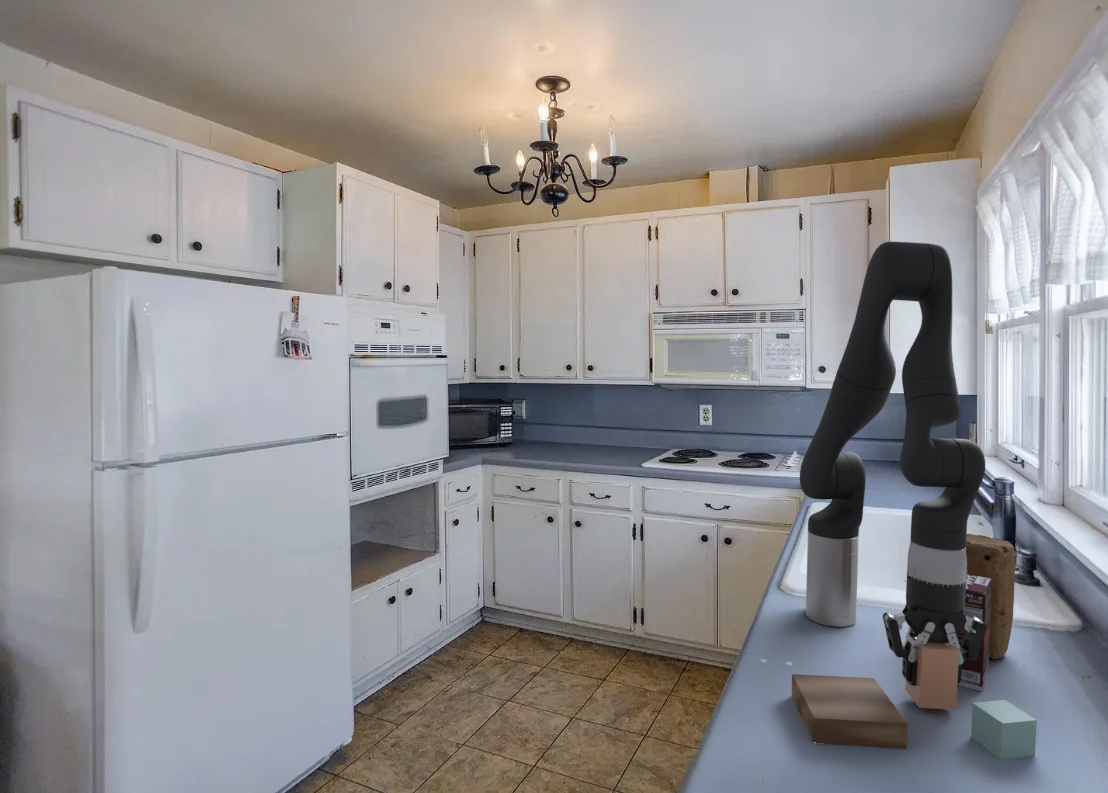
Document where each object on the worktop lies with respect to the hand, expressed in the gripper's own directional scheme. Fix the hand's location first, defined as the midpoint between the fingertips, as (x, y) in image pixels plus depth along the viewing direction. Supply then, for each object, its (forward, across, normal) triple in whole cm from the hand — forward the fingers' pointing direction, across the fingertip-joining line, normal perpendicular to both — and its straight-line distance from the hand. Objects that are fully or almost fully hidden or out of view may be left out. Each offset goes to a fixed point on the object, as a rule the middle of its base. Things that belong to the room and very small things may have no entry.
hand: (930, 683), depth 97 cm
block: (+4, -16, -21) cm, 27 cm away
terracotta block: (+2, 0, 0) cm, 2 cm away
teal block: (+4, -5, +9) cm, 11 cm away
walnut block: (+4, +14, +5) cm, 15 cm away
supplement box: (+4, -10, -10) cm, 15 cm away
